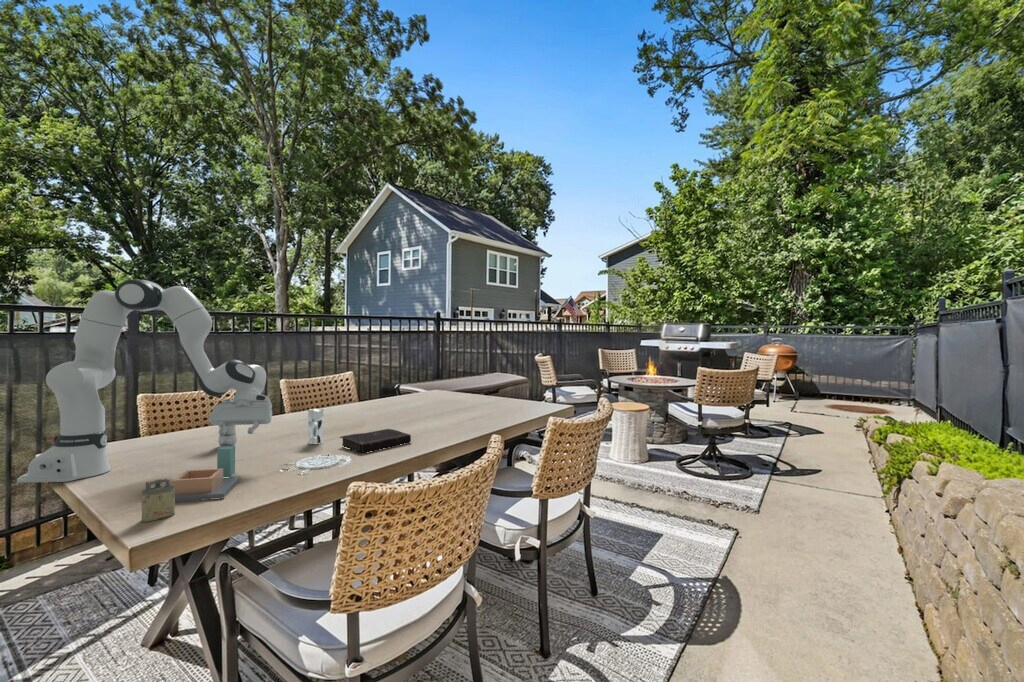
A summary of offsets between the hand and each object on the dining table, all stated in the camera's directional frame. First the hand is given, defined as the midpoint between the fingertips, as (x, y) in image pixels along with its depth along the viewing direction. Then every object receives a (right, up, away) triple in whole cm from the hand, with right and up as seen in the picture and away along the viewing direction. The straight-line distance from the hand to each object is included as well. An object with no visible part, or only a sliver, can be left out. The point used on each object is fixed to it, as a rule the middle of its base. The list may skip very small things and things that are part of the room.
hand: (235, 433), depth 160 cm
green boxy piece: (+5, -14, -42) cm, 44 cm away
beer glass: (+11, -13, +40) cm, 43 cm away
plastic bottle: (-23, -12, +31) cm, 41 cm away
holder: (+3, -13, -23) cm, 26 cm away
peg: (+1, -13, -7) cm, 15 cm away
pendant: (+26, -14, +9) cm, 31 cm away
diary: (+39, -14, +39) cm, 56 cm away
